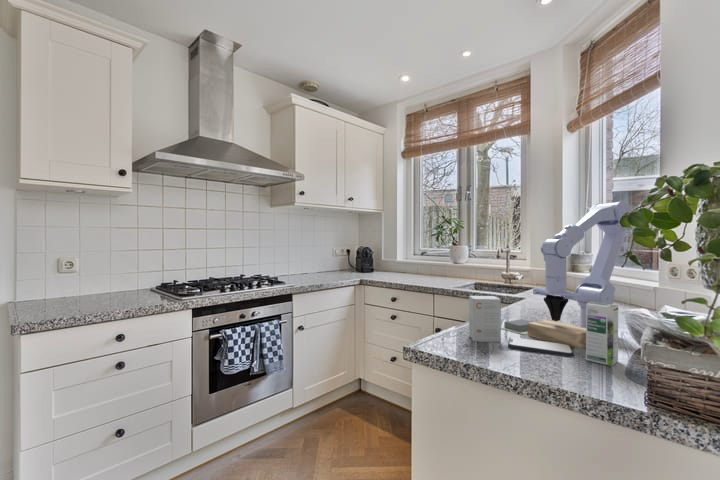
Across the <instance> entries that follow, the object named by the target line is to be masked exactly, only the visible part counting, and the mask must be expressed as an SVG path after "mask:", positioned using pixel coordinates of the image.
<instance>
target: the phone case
mask: <svg viewBox="0 0 720 480" xmlns="http://www.w3.org/2000/svg"><path fill="white" fill-rule="evenodd" d="M507 348H508V349H510V350H515V351H522V352H523V351H524V352H531V353H540V354H545V355H546V354H547V355H552V356H553V355H554V356H561V357H568V358H569V357H570V358H573V357H574V356H575V352H574V350H573V348H571V346H570V345H566V344H559V343H553V342H550V341H545V340H544V341H543V340H535V339H529V338H521V337H509V338H508V343H507Z"/></svg>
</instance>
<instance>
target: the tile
mask: <svg viewBox="0 0 720 480" xmlns="http://www.w3.org/2000/svg"><path fill="white" fill-rule="evenodd" d="M530 322H533V321H532V320H531V321H530V320H527V319H522V318H521V319H515V320H513V319H512V320H507V321H504V323H503V324H504V326H503V327H504V328H508V329H511V330H515V331H519V332H521V331H527V330H528V323H530Z"/></svg>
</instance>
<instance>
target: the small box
mask: <svg viewBox="0 0 720 480" xmlns="http://www.w3.org/2000/svg"><path fill="white" fill-rule="evenodd" d="M501 306H502V301H501V298H499V297H497V296H495V295H469V296H468V329H469V330H468V335H469V337H471V338H472V339H471V338H470V339H471V340H472V341H473V342H474V341H475V343H476V342H477V341H478V342H477V343H479V342H480V343H484V342H485V343H501V342H502V329H501V327H502V319H501V318H502V316H501V315H502V307H501Z"/></svg>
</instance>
